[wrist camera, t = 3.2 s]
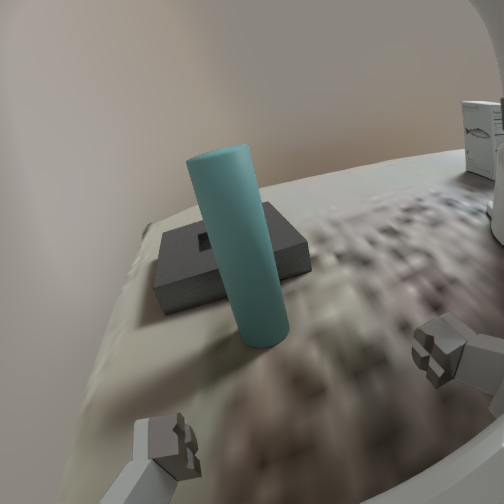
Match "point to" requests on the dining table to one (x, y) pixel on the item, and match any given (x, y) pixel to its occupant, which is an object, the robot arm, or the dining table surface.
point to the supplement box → (482, 136)
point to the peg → (240, 242)
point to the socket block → (205, 266)
